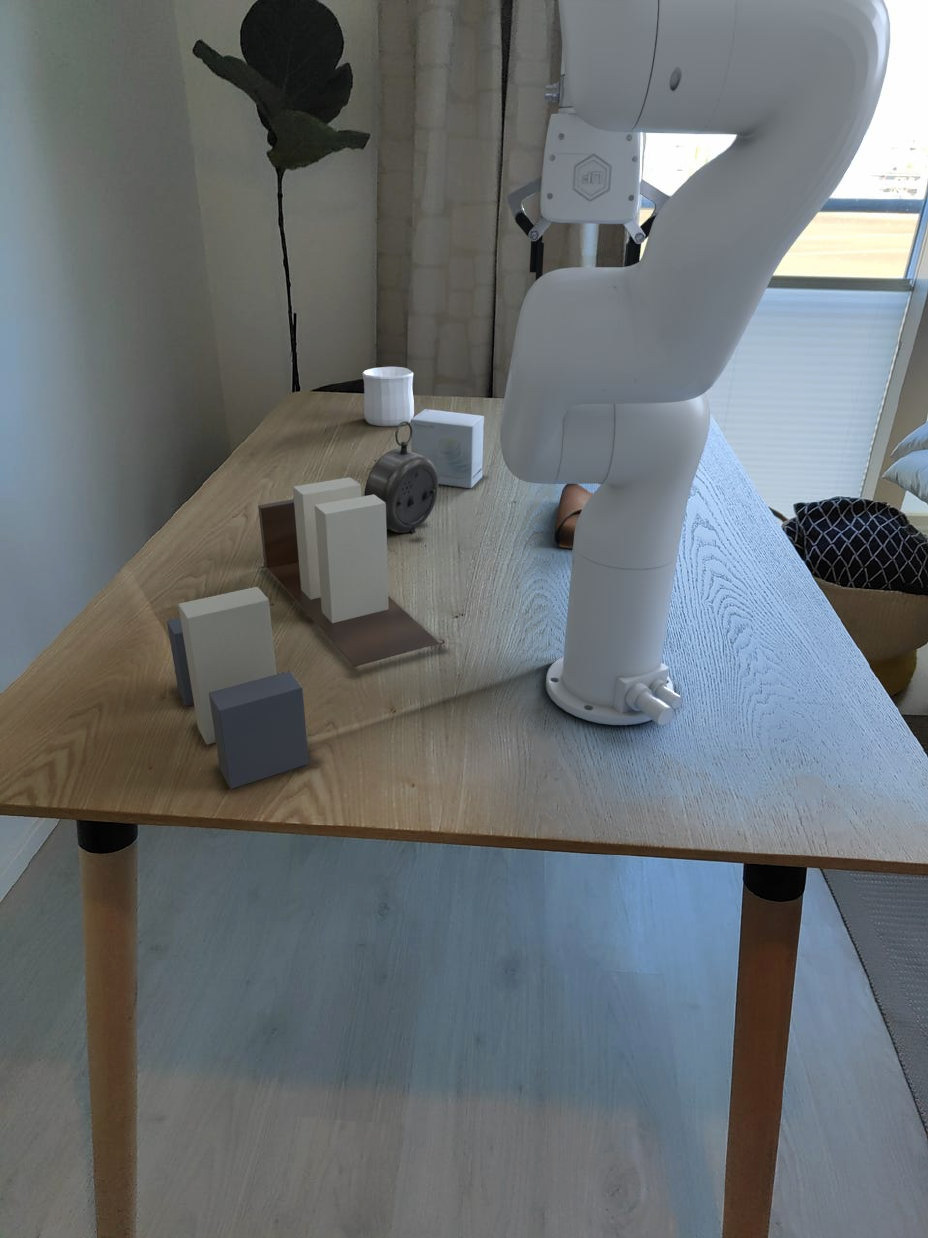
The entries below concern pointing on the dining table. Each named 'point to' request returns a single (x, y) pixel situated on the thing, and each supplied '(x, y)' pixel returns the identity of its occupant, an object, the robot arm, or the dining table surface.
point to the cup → (388, 396)
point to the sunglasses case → (569, 513)
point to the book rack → (352, 636)
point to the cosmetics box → (450, 445)
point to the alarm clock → (404, 486)
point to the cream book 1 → (225, 646)
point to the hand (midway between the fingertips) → (582, 281)
